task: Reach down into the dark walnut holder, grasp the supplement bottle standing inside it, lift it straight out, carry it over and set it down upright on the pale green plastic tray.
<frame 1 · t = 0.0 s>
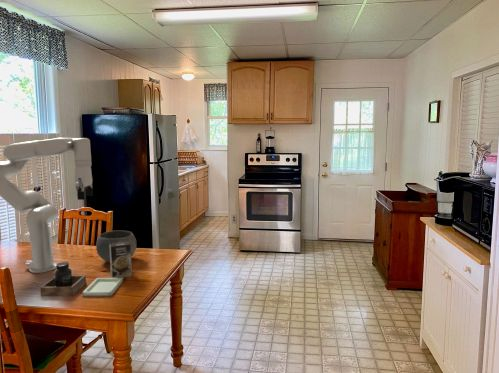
hand: (85, 197, 190), 37 cm above the table, tool pointing down, fingers open, 9 cm apart
bowl: (117, 261, 207), on the table
supplement bottle: (64, 290, 170), resting in holder
holder: (64, 289, 170), on the table
coffee box: (121, 276, 186), on the table
tray: (103, 288, 171), on the table
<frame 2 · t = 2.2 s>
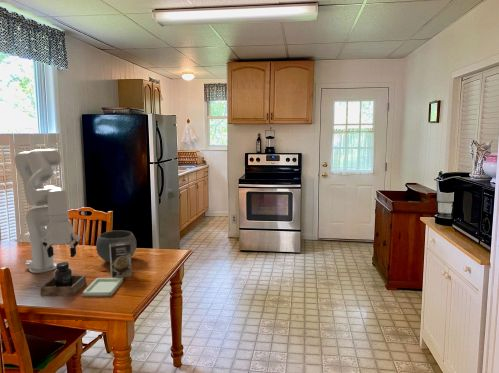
hand: (62, 256, 167), 16 cm above the table, tool pointing down, fingers open, 9 cm apart
nothing on the table moved.
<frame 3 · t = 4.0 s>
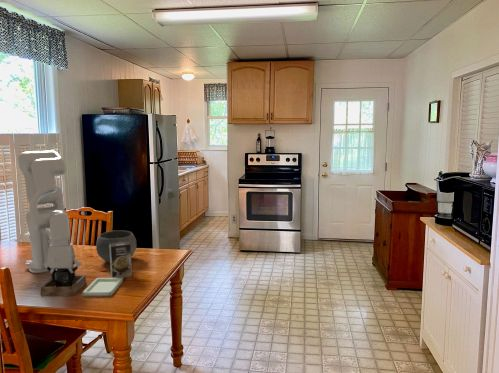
hand: (63, 280, 169), 4 cm above the table, tool pointing down, fingers closed on supplement bottle, 6 cm apart
supplement bottle: (64, 290, 170), resting in holder, touching gripper
everything else where it was.
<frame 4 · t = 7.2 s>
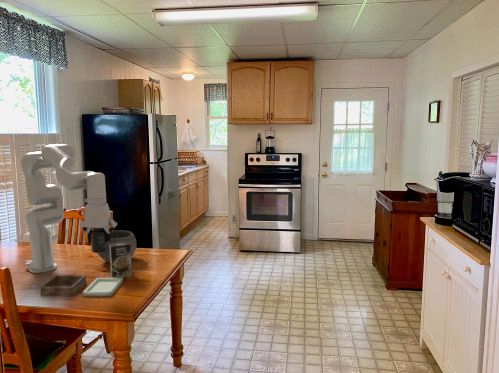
hand: (99, 241, 168), 22 cm above the table, tool pointing down, fingers closed on supplement bottle, 6 cm apart
supplement bottle: (100, 251, 168), point 17 cm above the table, touching gripper
everything else where it was.
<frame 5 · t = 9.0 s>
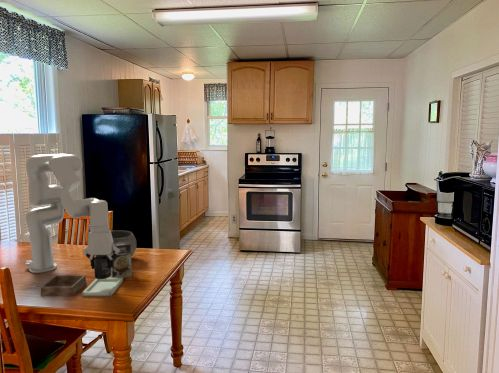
hand: (102, 267, 169), 10 cm above the table, tool pointing down, fingers closed on supplement bottle, 6 cm apart
supplement bottle: (103, 277, 170), point 5 cm above the table, touching gripper
everything else where it was.
when the fingers open (6 cm above the table, at t = 10.6 s): supplement bottle drops 1 cm, resting on tray.
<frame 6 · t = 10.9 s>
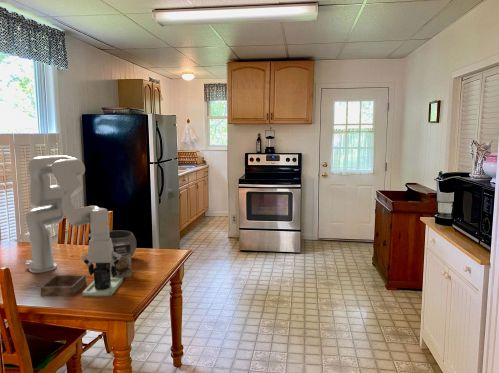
hand: (102, 273, 170), 7 cm above the table, tool pointing down, fingers open, 9 cm apart
supplement bottle: (102, 287, 171), resting on tray
everything else where it was.
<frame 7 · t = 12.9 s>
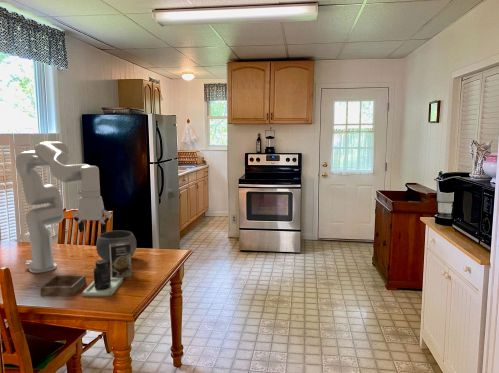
hand: (92, 231, 170), 25 cm above the table, tool pointing down, fingers open, 9 cm apart
nothing on the table moved.
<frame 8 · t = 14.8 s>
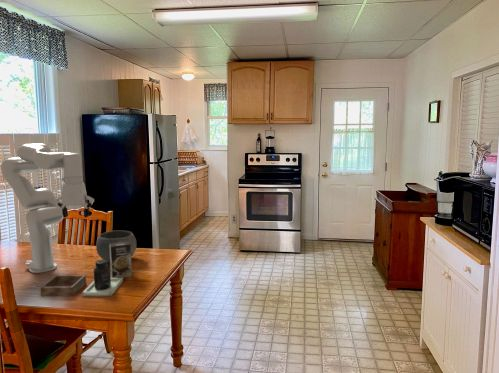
hand: (76, 216, 177), 30 cm above the table, tool pointing down, fingers open, 9 cm apart
nothing on the table moved.
at the end: supplement bottle inside the target area on the tray (0.3 cm from its centre), point 0.4 cm above the tray's base; supplement bottle tilted 0°; the gripper is holding nothing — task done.
